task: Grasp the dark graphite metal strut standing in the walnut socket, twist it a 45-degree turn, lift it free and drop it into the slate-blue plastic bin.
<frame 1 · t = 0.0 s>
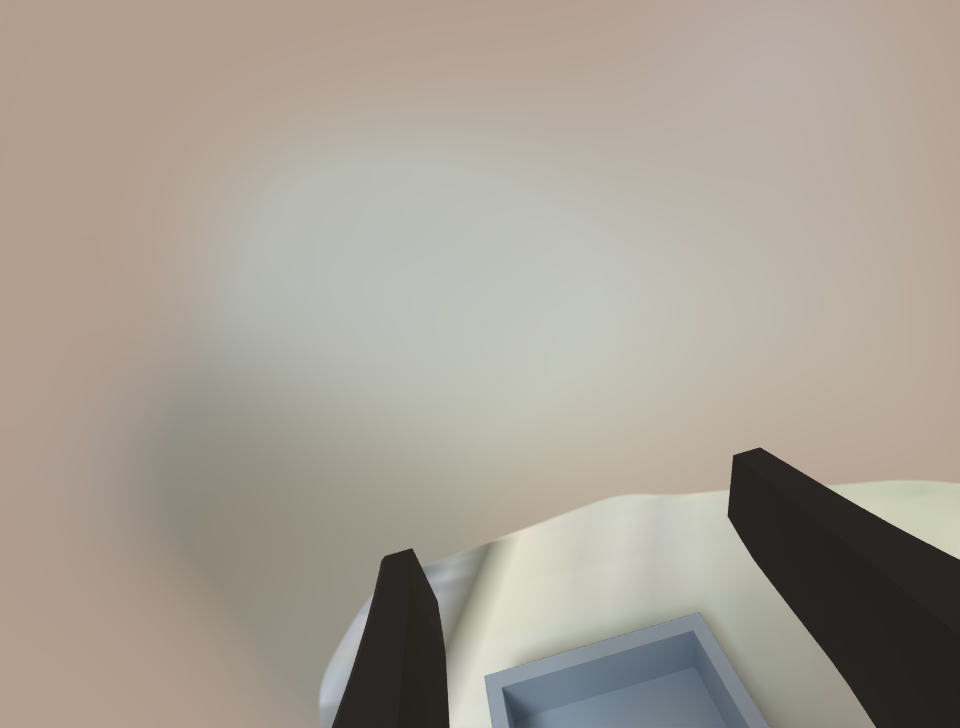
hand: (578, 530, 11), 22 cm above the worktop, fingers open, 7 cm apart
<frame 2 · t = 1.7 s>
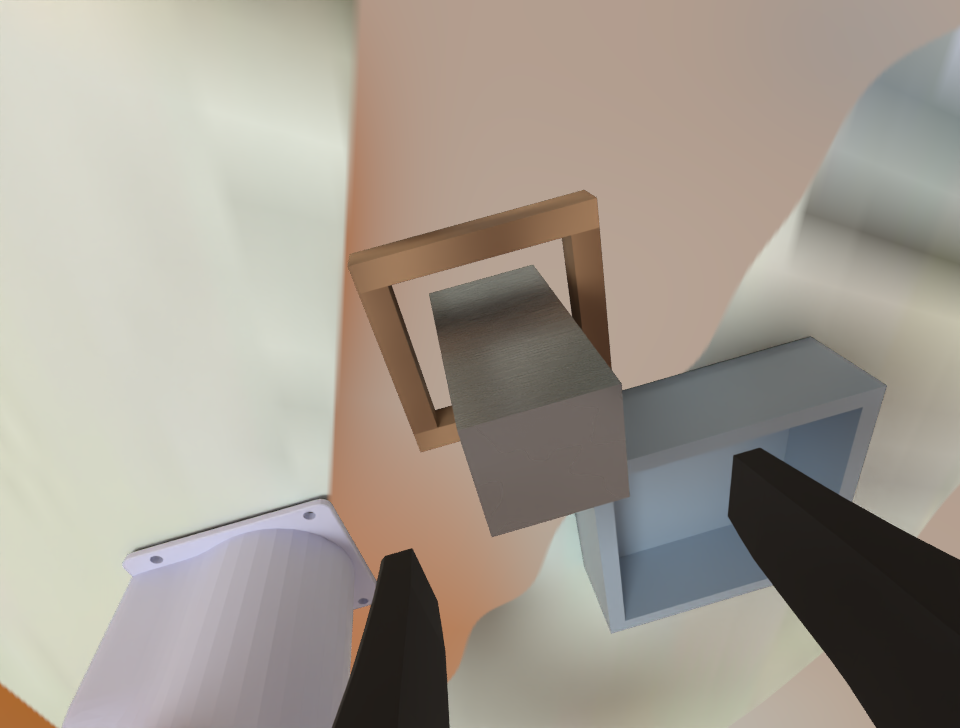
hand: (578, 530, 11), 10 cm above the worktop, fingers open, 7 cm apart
socket: (492, 325, 19), on the worktop
strut: (492, 325, 19), resting in socket
bin: (683, 465, 25), on the worktop
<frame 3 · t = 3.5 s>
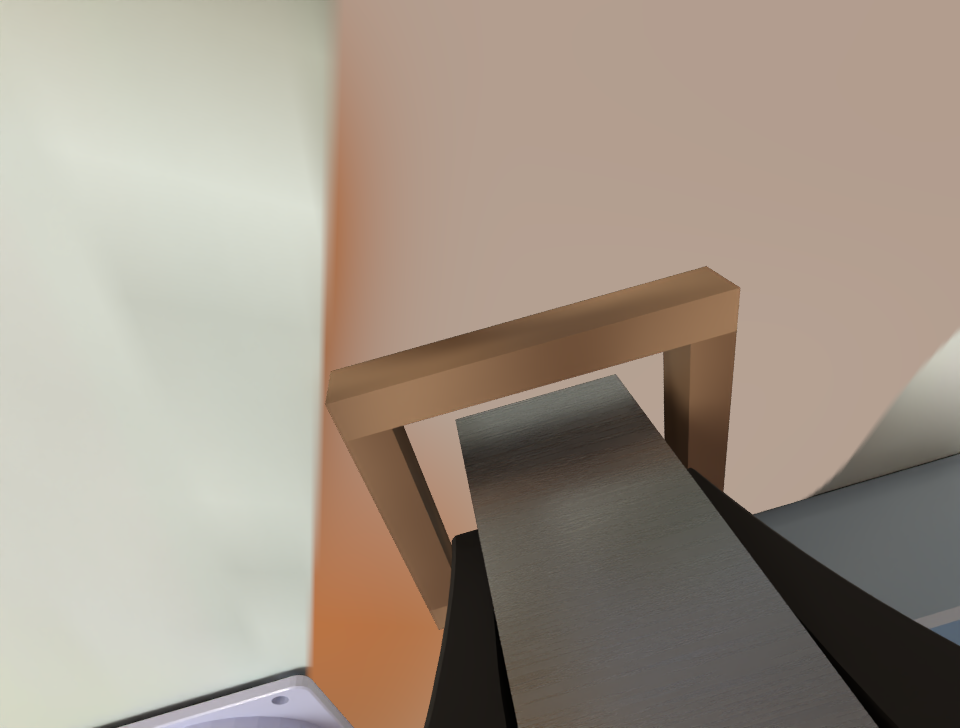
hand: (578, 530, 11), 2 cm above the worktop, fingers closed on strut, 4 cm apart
socket: (547, 456, 13), on the worktop
strut: (547, 455, 13), resting in socket, touching gripper
bin: (785, 600, 19), on the worktop
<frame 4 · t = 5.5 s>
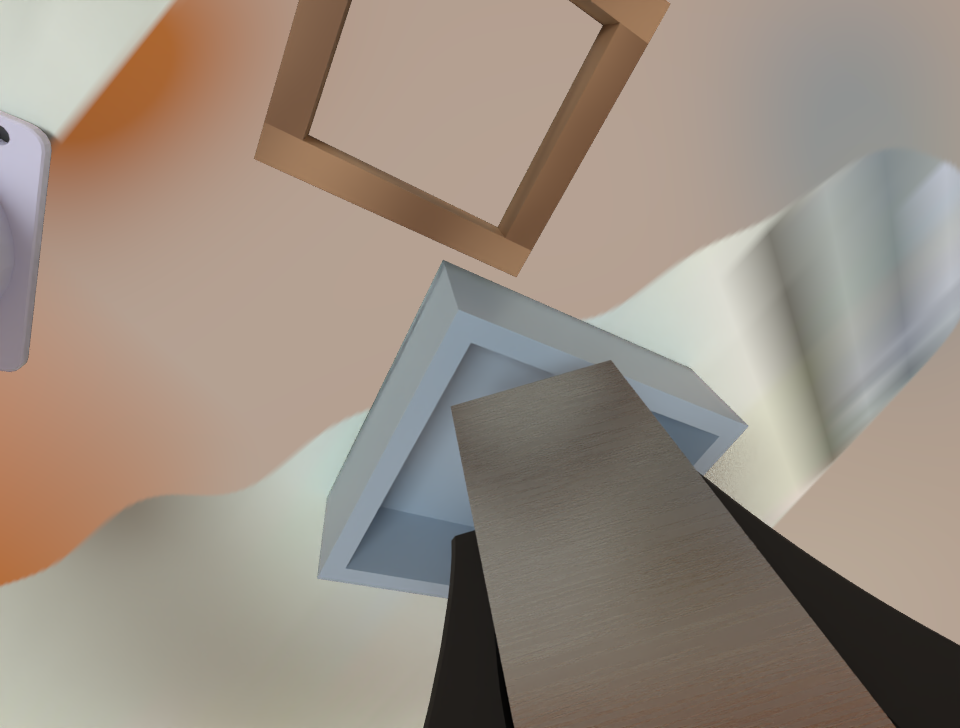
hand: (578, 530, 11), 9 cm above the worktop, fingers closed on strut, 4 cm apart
socket: (454, 80, 14), on the worktop
strut: (543, 443, 13), point 7 cm above the worktop, touching gripper
bin: (507, 433, 22), on the worktop
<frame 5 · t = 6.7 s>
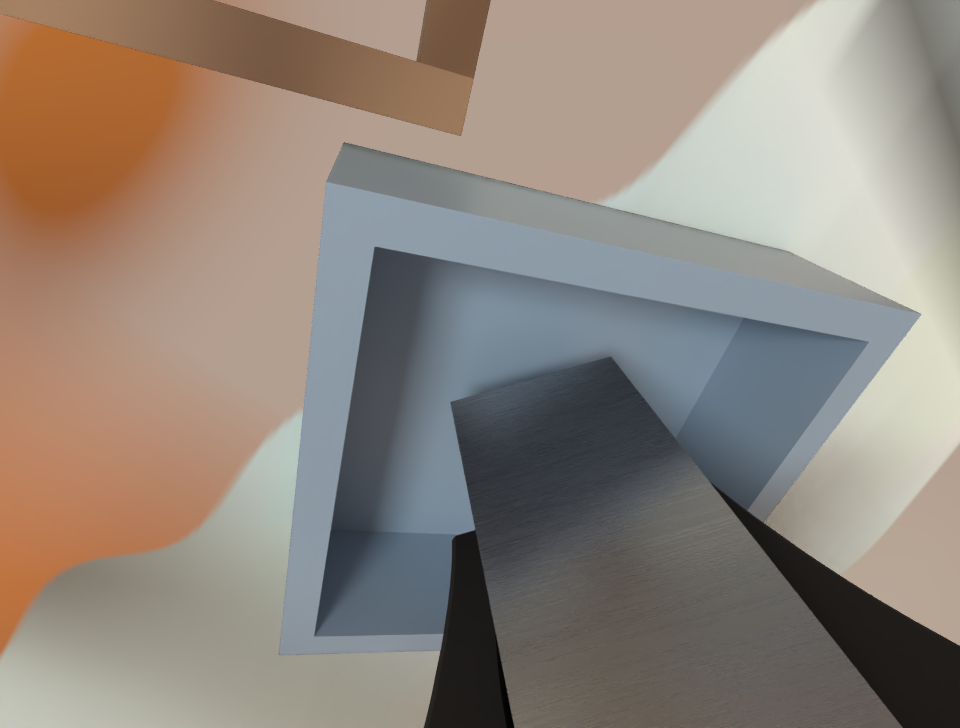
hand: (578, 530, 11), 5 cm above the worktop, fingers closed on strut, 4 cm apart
strut: (543, 440, 13), point 2 cm above the worktop, touching gripper
bin: (524, 402, 15), on the worktop
when the fingers open (4 cm above the worktop, at t = 7.6 s): strut drops 1 cm, resting on bin.
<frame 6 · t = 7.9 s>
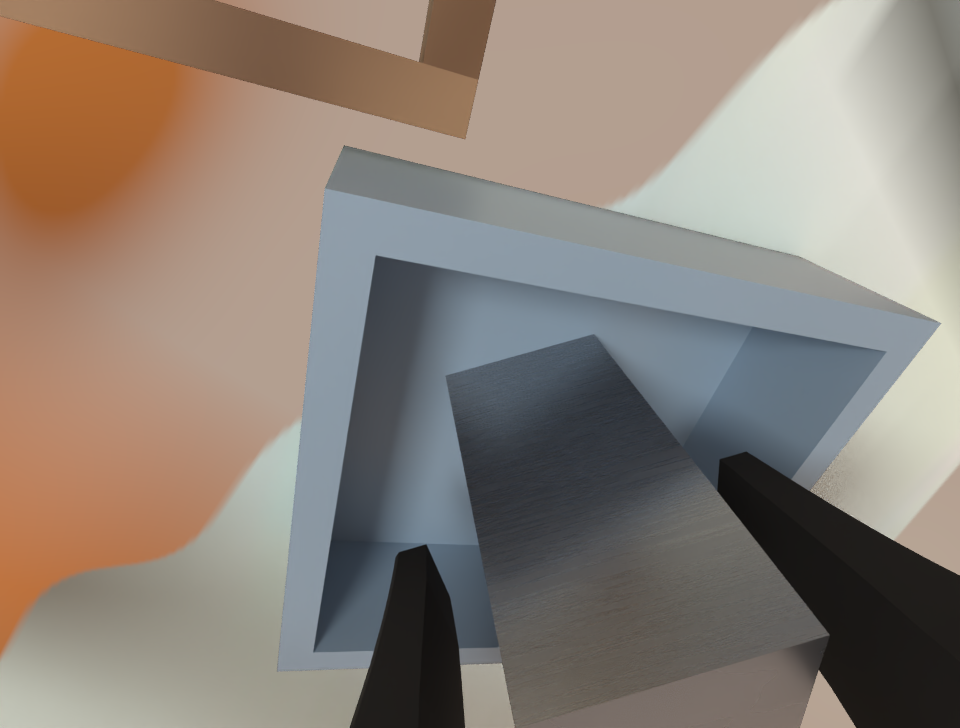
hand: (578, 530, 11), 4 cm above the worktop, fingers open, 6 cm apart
strut: (532, 413, 14), point 1 cm above the worktop, touching bin
bin: (528, 410, 14), on the worktop
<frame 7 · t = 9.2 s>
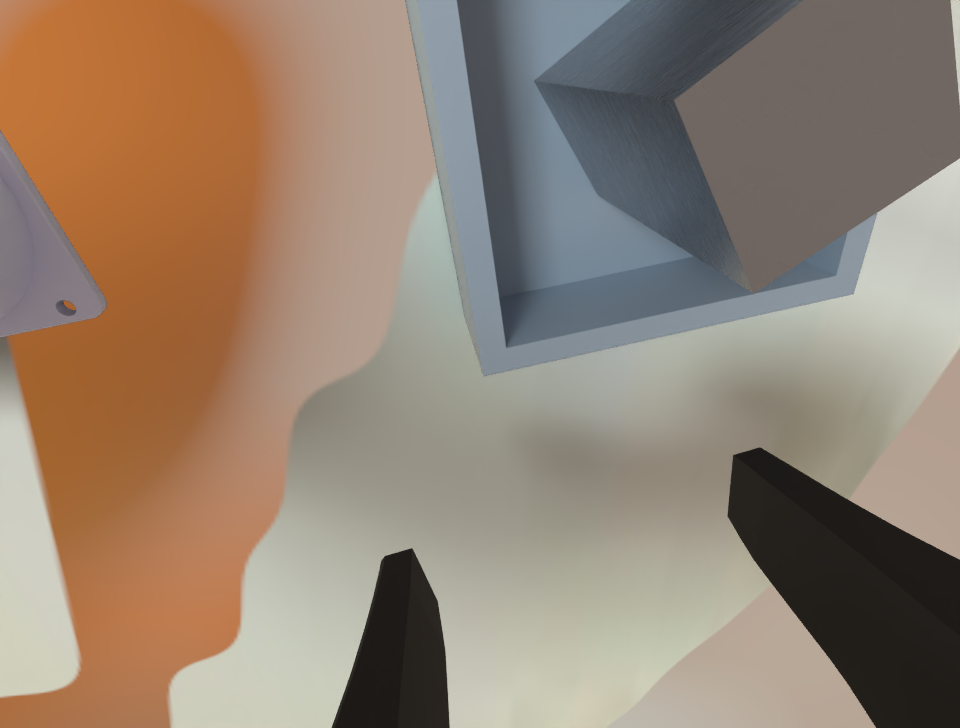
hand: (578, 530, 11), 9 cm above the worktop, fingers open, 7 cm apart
strut: (624, 97, 15), point 1 cm above the worktop, touching bin
bin: (621, 107, 15), on the worktop
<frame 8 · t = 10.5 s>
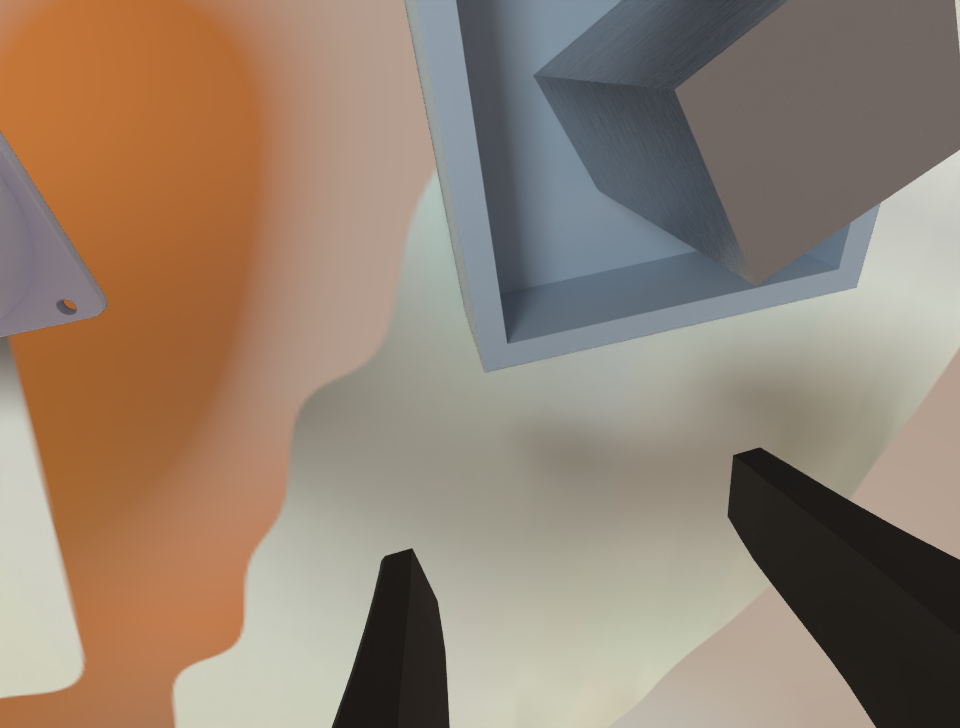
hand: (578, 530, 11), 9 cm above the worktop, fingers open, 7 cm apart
strut: (624, 91, 14), point 1 cm above the worktop, touching bin
bin: (621, 102, 15), on the worktop
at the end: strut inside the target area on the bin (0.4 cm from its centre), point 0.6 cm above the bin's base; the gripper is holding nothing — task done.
